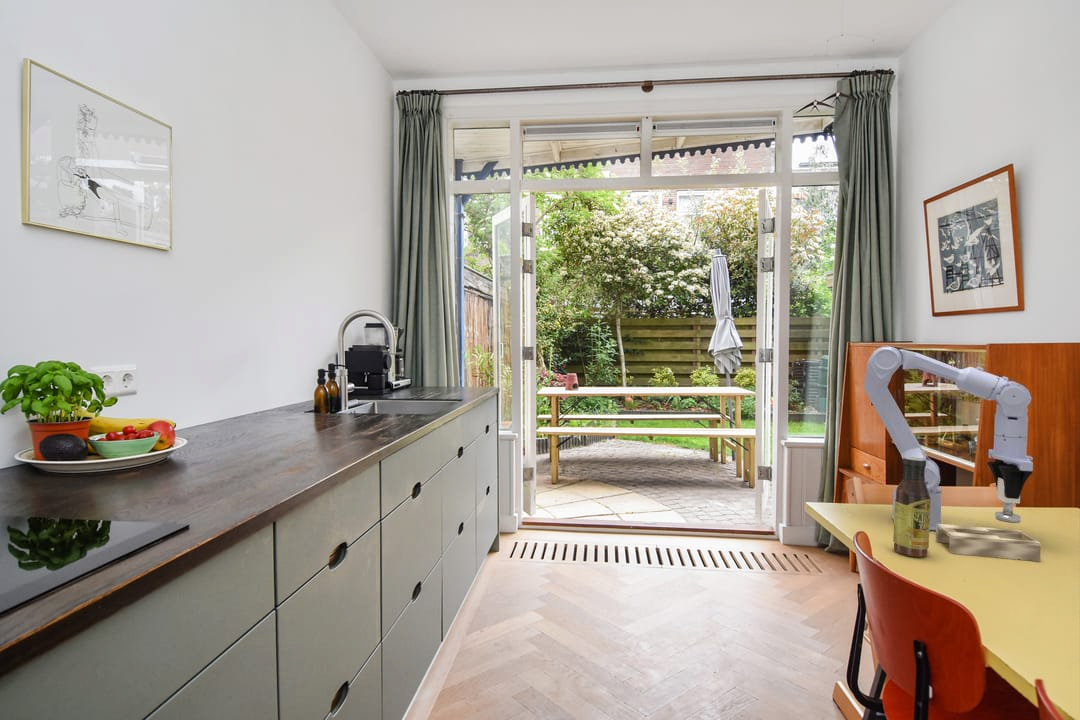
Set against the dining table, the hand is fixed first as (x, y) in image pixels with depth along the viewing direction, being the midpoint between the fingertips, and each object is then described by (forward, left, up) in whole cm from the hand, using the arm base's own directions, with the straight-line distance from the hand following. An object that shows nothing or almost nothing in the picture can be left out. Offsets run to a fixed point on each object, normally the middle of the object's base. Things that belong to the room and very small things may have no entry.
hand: (1008, 496), depth 128 cm
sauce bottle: (-24, -16, -10) cm, 30 cm away
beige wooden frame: (-8, -10, -10) cm, 16 cm away
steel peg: (0, 0, -5) cm, 5 cm away
